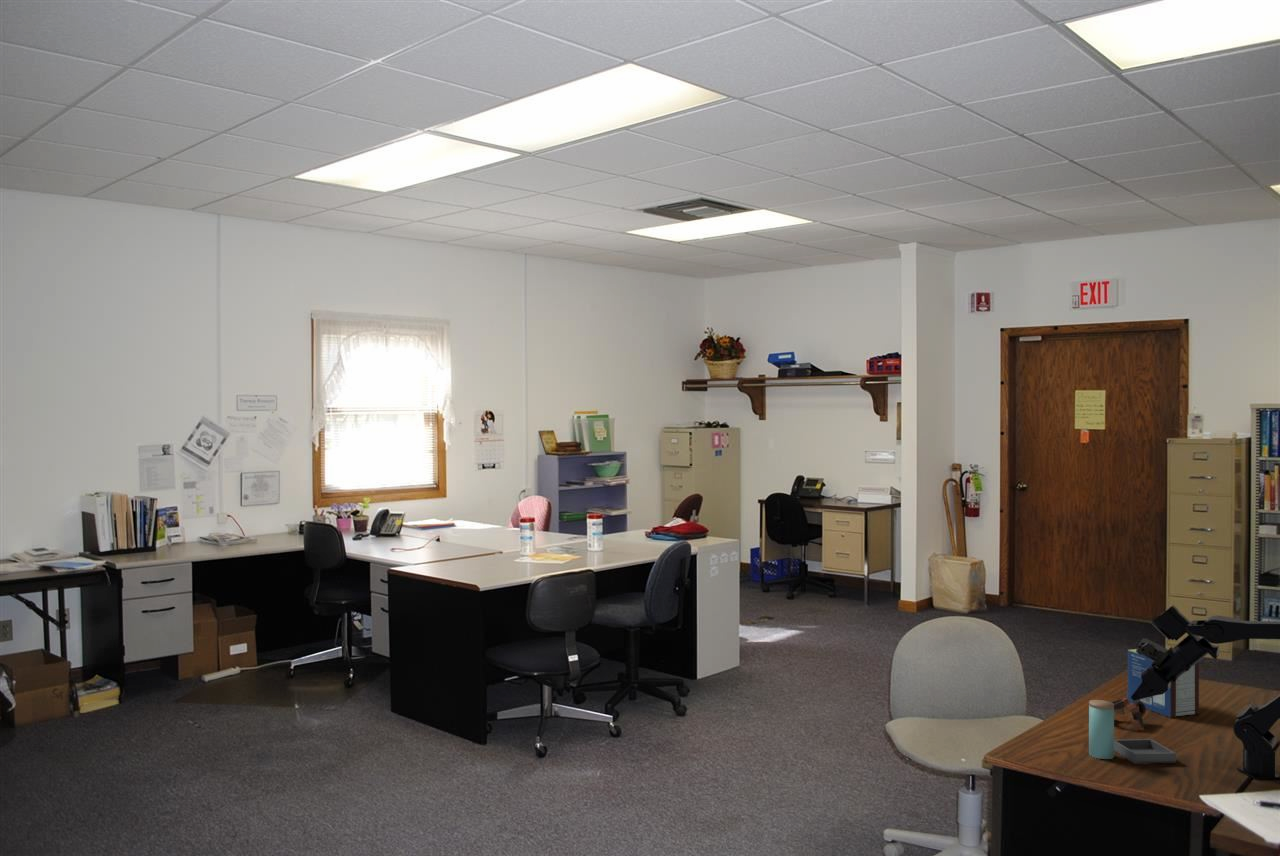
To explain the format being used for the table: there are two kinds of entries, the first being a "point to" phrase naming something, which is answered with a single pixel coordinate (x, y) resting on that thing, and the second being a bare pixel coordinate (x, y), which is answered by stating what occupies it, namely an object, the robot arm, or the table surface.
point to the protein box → (1176, 698)
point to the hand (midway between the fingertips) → (1136, 694)
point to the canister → (1101, 729)
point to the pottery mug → (1131, 710)
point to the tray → (1144, 751)
